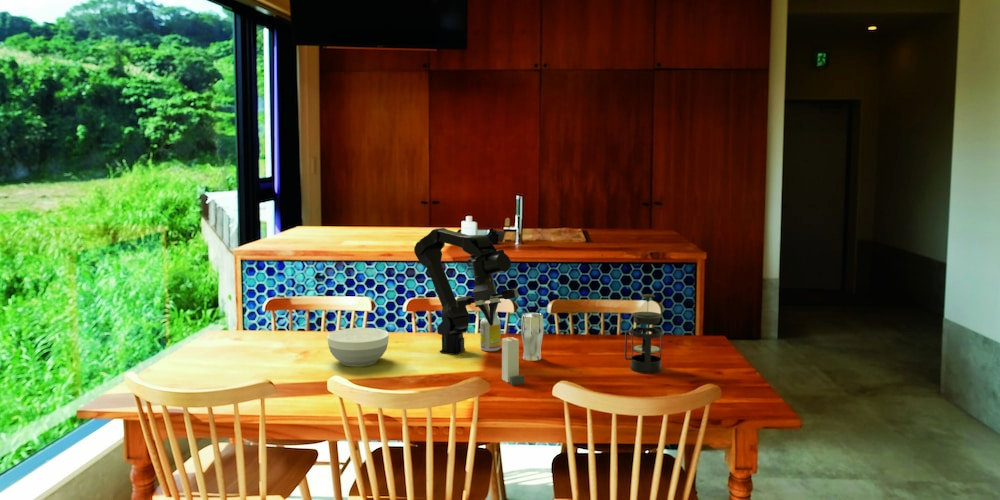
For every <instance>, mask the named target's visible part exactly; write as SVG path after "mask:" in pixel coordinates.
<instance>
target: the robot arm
mask: <svg viewBox="0 0 1000 500" xmlns="http://www.w3.org/2000/svg"><path fill="white" fill-rule="evenodd" d="M489 238H490V237H489V236H488V235H486V234H475V235H474V234H472V235H471V234H470V235H468V234H465V233H463V232H462V233H461V232H458V231H454V230H450V229H448V228H445V227H440V228H433V229H431V231H430V232H429V233H428V234H427V235H425V236H424V237H422V238H420V240H419V241H417V242H416V243H415V246H414V249H413V251H414V255H415V256H416V259H417V260H418V262H419V263H420V264H421V265H423V266H424V267H425V268H426V270H427V272H428V274H429V277H430V279H431V282H432V285H433V287H434V290H435V292H436V294H437V297H438V299H439V303H440V305H441V307H442V308H441V313H440V314H441V316H440V317H441V322H440V323H439V324H438V326H437V327H436V330H437V334H438V335H439V336H440V335H441V349H440V350H439V353H442V354H449V355H450V354H451V355H459V354H461V353H463V352H465V351H466V348H465V337H464V333H467V332H468V328H469V324H470V321H471V320H470V313H469V311H468V309H467V306H470V305H472V304H475V305H474V306H475V308H478V309H479V310H480V311H481V312H482V314H483V313H484V315H485V317H486V319H487V321H488V323H489V325H490V326H492V325H493V323H494V318H495V312H496V311H497V308H498V305H499V304H501V303H502V301H501V299H504V300H510V299H516V298H519V293H518V292H519V291H518V290H517V288H509V289H504V290H502V291H501V292H498V293H496V292H497V286H496V284H495V280H494V277H493V276H494V275H495V274H501V273H506V272H508V271H509V270H510V269H511V266H512V262H511V261H512V260H511V259H510V257H509V255H508V254H506V253H505V250H504V249H497V248H496V247H495V245H494V244H493V242H491V240H490V239H489ZM446 244H447V245H452V246H455V247H458V248H461V250H462V251H463V252H465V253H466V254H468V255H470V256H469V258H468V259H467V261H466V263H467V264H471V266H472V272H473V276H474V280H473V281H474V287H473V289H472V294H473V295H467V296H462V297H461V296H460V297H457V298H456V296H455V293H454V292H453V289H452V287H451V285H450V282H449V279H448V277H447V274H446V272H445V269H444V267H443V264H442V257H443V252H442V250H443V248H444V247H445V245H446ZM493 274H494V275H493ZM472 296H473V297H472ZM486 301H489V303H488V302H486ZM489 310H490V311H489ZM484 315H483V316H484Z"/></svg>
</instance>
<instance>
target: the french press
mask: <svg viewBox="0 0 1000 500" xmlns="http://www.w3.org/2000/svg"><path fill="white" fill-rule="evenodd" d="M640 297H641V298H645V299H646V301H645V302H647V303H646V311H637V312H633V313H632V317H633V322H634V323H636V324H639V325H644V326H641V327H640V326H639V327H634V328H632V329H630V330H625V332H624V333H625V335H624V340H625V341H624V358H625V360H626V361H630V367H629V368H630V370H631V371H633V372H636V373H640V374H655V373H660V372H661V371H662V343H663V342H662V339H663V331H662V329H660V328H656V327H649V326H652V325H653V326H654V325H658V324H659V323H660V321H661V318H663V314H661V313H659V312H653V311H649V302H650V299H652V298H655V297H656V296H655V295H654V294H650V293H646V294H641V295H640ZM641 332H642V333H641ZM649 332H650V333H649ZM628 333H631V349H630V350H631V356H630V357H627V352H628V351H627V350H628V349H627V344H628ZM634 337H635V338H641V340H642V341H641V344H639V345H634ZM652 339H660V340H659V341H660V343H659V344H660V345H659V347H658V346H656V345H652ZM633 345H634V346H633ZM633 352H635V353H636V354H634V353H633ZM658 353H659V356H657V355H653V354H658ZM633 354H634V355H633Z"/></svg>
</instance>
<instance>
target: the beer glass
mask: <svg viewBox="0 0 1000 500" xmlns="http://www.w3.org/2000/svg"><path fill="white" fill-rule="evenodd" d="M520 330H521V331H520V333H521V340H522V346H523V354H522V359H523V360H525V361H534V362H535V361H540V360H541V359H542V354H541V349H542V342H543V339H544V338H543V337H544V315H543V314H542V313H540V312H525V313H522V314H521V323H520Z"/></svg>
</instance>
